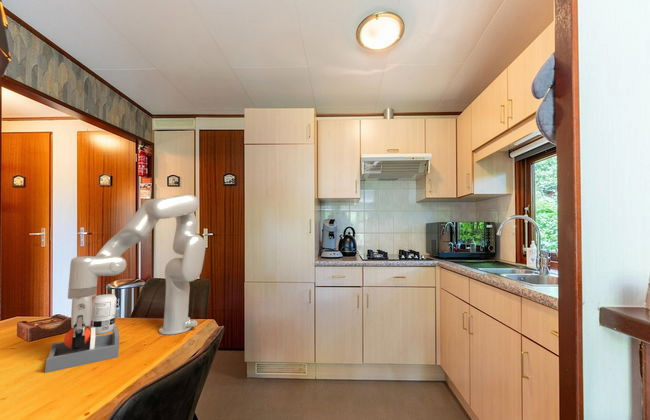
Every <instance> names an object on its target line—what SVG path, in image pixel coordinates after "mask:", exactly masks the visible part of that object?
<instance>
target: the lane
mask: <svg viewBox="0 0 650 420" xmlns="http://www.w3.org/2000/svg"><path fill="white" fill-rule="evenodd" d="M89 349H90V339H89V341H88V342H87V343H86V344H85V345H84V348H81V349H76V350H71V348H68V347H67V346H66V345H65V344H64V341H61V342H60V341H59V342H54V343H52V344H51V349H50V352H49V354H48V357H46V360H45V361H46V362H45V370H44V373H45V374H46V373H51V372H55V371H61V370H65V369H70V368H74V367H79V366H83V365H88V364H92V363H98V362H102V361H107V360H111V359H117V358H119V353H120V351H119V350H120V332H119V326H118V325H115V327H113V330H112V332H111V333H105V334H99V335H95V348H94V349H91V350H89Z"/></svg>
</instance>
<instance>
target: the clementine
mask: <svg viewBox="0 0 650 420" xmlns="http://www.w3.org/2000/svg"><path fill="white" fill-rule="evenodd" d="M82 330H83V329H82ZM73 335H74V329H72V328H71V329H70V330H69V331H67V332H66V334H65V335H64V338H63V342H64V344H65V345H66V346H67V347H68V348H72V337H73ZM84 335H85V344H86V343H87V342H88V341H89V339H90V336H91V332H90V329H89V327H88V326H85V331H84ZM75 337H76V336H75ZM85 344H84V345H85Z"/></svg>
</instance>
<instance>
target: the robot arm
mask: <svg viewBox="0 0 650 420" xmlns="http://www.w3.org/2000/svg"><path fill="white" fill-rule="evenodd" d="M199 208H200V201H199V199H198V198H197V196H196V195H194V194H187V193H186V194H178V195H173V196H170V197H162V198H161V197H160V198H159V197H158V198H151V199H148V200H146V201H145V202H143V204H142V205H141V206H140V207H139V208H138V209H137V211H136V212H134V215H132V217H131V218H130V219H129V220H128V222H127V223H126V225H125V226H123V228H122V229H121V230H119V231H117V233H115V235H113V236H112V237H111V238H110V239H109V240H107V242H106V243H105V244H104V245H103V246H102V247H101V249H100V250H99V251H98V252H97V254H96V255H95V256H94V255H93V256H91V255H90V256H89V255H87V256H85V255H84V256H83V255H82V256H75V257H74V258H71V260H70V265H69V278H68V292H67V299H69V300H71V314H70V320H71V321H70V322H71V323H70V326H71V329H74V335H73V337H72V348H71V350H76V349H81V348H84V344H85V335H84V331H85V326H87V327H88V328H89V327H91V315H92V303H93V297H94V298H95V297H96V296H97V290H98V289H97V287H98V277H99V276H100V277H102V276H103V277H113V276H117V275H120V274H122V273H123V272H124V271H125V270H126V269H127V261H126V259H125V258H124V257H122V255H123V254H124V253H125V252H126V251H128V249H129V248H131V247H133V246H134V245H136V244H138V243H140V242H142V241H144V240H145V239H146V238H147V237H148V235H149V234H150V233H151V231H152V230H153V229H154V227H155V226H156V225H157V224H158V222H159V221H160V220H161V219H163V220H165V219H172V218H175V220H176V228H175V232H174V238H173V242H172V243H173V244H172V249H173V250H172V251H173V252H174V253H176V254H178V255H181V256H182V257H175V258H171V259H170V260H169V261H168V262H167V263H166V265H165V268H164V278H165V299H164V314H163V326H161V327H160V328H159V329H158V332H159V334H161V335H177V334H183V333H185V332H188V331H190V330H191V329H192V327H197V325H198V321H197V320H196V319H195V320H191V317H189V305H190V290H191V286H190V285H191V284H190V282H195V280H197V279H198V278H199V277H200V276H201V273H202V270H203V266H204V261H205V255H206V241H205V240H204V237H202V236H201V235H199V234H197V225H198V220H197V217H196V214H195V213H196V211H197V210H198V209H199ZM82 329H83V330H82ZM75 336H76V337H75Z"/></svg>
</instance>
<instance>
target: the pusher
mask: <svg viewBox="0 0 650 420" xmlns="http://www.w3.org/2000/svg"><path fill="white" fill-rule="evenodd" d="M90 333H91V336H90V349H89V350H91V349H94V348H95V336H96V334H95V327H93V328H91V332H90Z"/></svg>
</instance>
